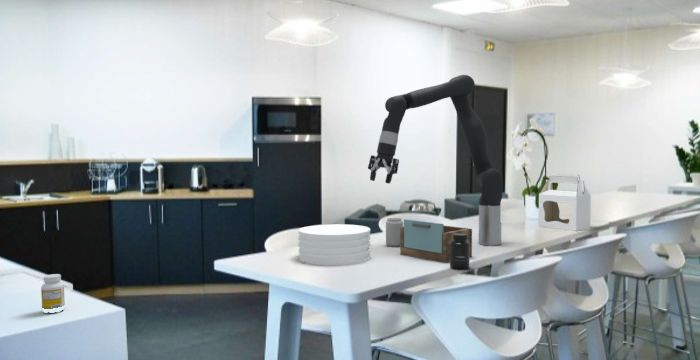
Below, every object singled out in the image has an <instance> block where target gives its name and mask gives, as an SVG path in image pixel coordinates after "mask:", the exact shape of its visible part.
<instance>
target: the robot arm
mask: <svg viewBox="0 0 700 360" xmlns="http://www.w3.org/2000/svg"><path fill="white" fill-rule="evenodd" d="M475 86H476V84H475V81H474V78H472V77H471V76H470V75H468V74H461V75H457V76H455V77H452V78H451V79H450V80H449V81H447V82H444V83H441V84H435V85H433V86H428V87H423V88H419V89H417V90H416V89H415V90H413V91H410V92H407V93H404V94H399V95H394V96H391V97H388V98H387V99H386V101H385V103H384V106H385V110H386V111H387V112H388V114H387V116H386V118H385V119H384V121H383V124H382V128H381V133H380V135H379V139H378V144H377V150H376V153H377V154H376V155H371V156H370V158H369V163H368V166H367V169H368V170H370V176H369V180H370V181H373V182H374V181H376V176H377V172H378V171H379V169H381V168H382V169H383V168H384V169H385V170H386V172H387V174H386V177H385V183H386V184H391V183H392V178H393V175H395V174H396V175H397V174H398V170H399V163H400V159H399V158H396V157H395V155H396V150H397V145H398V141H399V132H400V127H401V124H402V122H403V118H404V116H405V114H406V112H407V110H410V109H416V108H420V107H424V106H427V105H430V104H433V103H436V102H438V101H441V100H444V99H448V98H450V100H451V102H452V105H453V106H454V109H455V111H456V114H457V117H458V121H459V123H460V127H461V131H462V133H463V134H462V135H463V136H464V140H465V142H466V143H465V144H466V145H467V149H468V151H469V154H470V157H471V159H472V163H473V167H474V172H475V178H476V181H477V183H478V186H479V187H481V195H480V197H479V199H478V244H479V245H482V246H492V247H493V246H500V245H501V244H502V221H501V219H502V218H501V215H502V214H501V208H502V207H501V206H502V205H501V202H502V199H503V193H504V192H503V189H504V181H503V179H504V178H503V175H502V173H501V172H500V170H498V169H496V168H494V167H493V165H492V164H491V160H490V157H489V148H488V146H489V143H488V137H487V133H486V129H485V126H484V124H483V122H482V120H481V118H480V117H479V116H478V114H477V113H476V112H475V110H474V109H473V106H472V105H471V103H470V100H469V95H471V94H472V93H473V92H474V89H475ZM394 157H395V158H394Z"/></svg>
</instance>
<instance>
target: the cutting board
mask: <svg viewBox="0 0 700 360" xmlns="http://www.w3.org/2000/svg"><path fill="white" fill-rule="evenodd" d="M443 225H444V223H441V222H440V223H439V222H430V221H425V220H423V221H422V220H416V219H415V220H414V219H403V227H404V247H407V248H413V249H419V250H425V251H431V252H437V253H443Z"/></svg>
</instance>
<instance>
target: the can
mask: <svg viewBox="0 0 700 360" xmlns="http://www.w3.org/2000/svg"><path fill="white" fill-rule="evenodd" d="M400 227H404V221H403V220H402V218H401V217H388V218H387V219H386V221H385V244H386V246H387V247H392V248H398V247H400Z"/></svg>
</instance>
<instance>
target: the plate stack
mask: <svg viewBox="0 0 700 360" xmlns="http://www.w3.org/2000/svg"><path fill="white" fill-rule="evenodd" d="M370 234H371V228H370V227H368V226H365V225H357V224H346V223H345V224H344V223H337V224H336V223H335V224H333V223H331V224H314V225H309V226H304V227H300V228H298V235H299V236H298V241H299V242H298V247H299V249H298V254H299V255H298V260H299V261H300V262H302V263H304V262H306V263H305V264H308V263H310V264H309V265H315V264H317V266H348V265H356V264H362V263H365V262H368V261H370V260H371V251H372V249H371V235H370Z"/></svg>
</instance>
